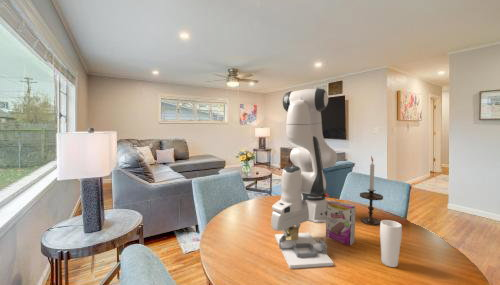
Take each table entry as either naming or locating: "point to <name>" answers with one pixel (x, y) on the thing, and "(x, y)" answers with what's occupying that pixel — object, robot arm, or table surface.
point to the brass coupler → (292, 233)
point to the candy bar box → (340, 222)
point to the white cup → (390, 242)
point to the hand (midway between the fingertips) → (290, 235)
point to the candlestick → (371, 199)
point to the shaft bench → (303, 251)
